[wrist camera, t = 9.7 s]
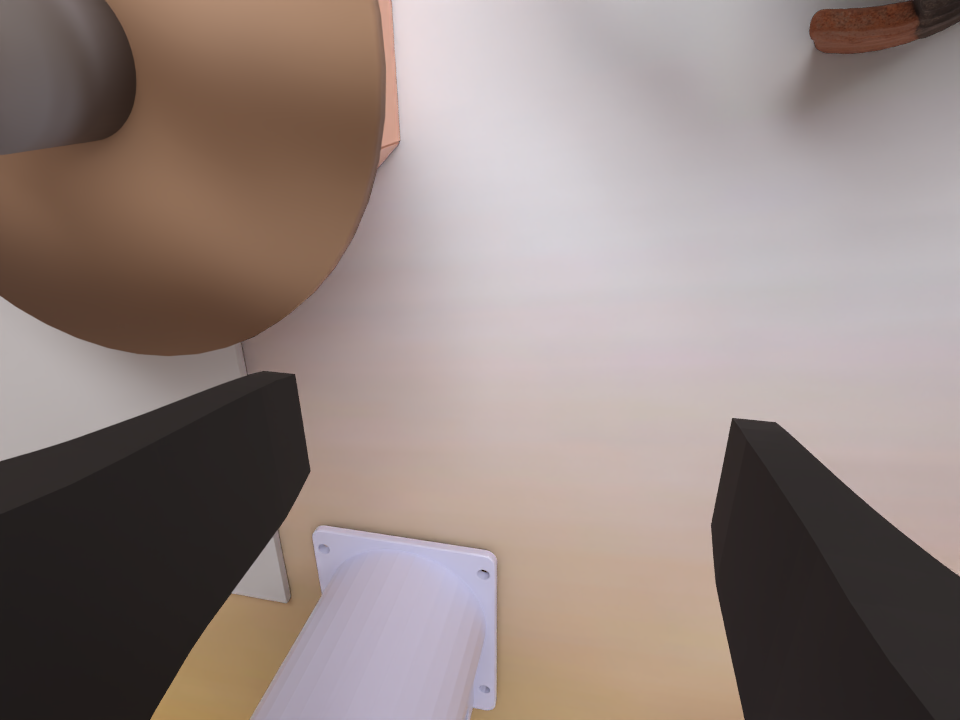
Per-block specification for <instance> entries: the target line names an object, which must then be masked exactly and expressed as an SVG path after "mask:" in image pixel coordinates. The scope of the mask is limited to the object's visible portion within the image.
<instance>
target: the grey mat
mask: <svg viewBox="0 0 960 720" xmlns="http://www.w3.org/2000/svg"><path fill="white" fill-rule="evenodd" d="M243 376H247V371H246V366H245V361H244V356H243V351H242V346H241V342H239V343H237V344H234V345H232V346H229V347H227V348H223V349H218V350H214V351H210V352H205V353H201V354H193V355H179V356H157V355H143V354H135V353H130V352H125V351H120V350H115V349H110V348H106V347H103V346H100V345H97V344H94V343H91V342H87V341H84V340H81V339H78V338H76V337H73V336H71V335H69V334H67V333H64V332H62V331H60V330H58V329H56V328H53V327H51V326H49V325H47V324H45V323H43V322H41V321H40V320H38V319H36V318H34V317H33V316H31V315H29V314H27V313H26V312H24V311H22V310H20V309H19V308H17V307H15V306H14V305H12V304H11V303H10V302H8V301H7V300H5V299H4V298H2V297H1V296H0V461H2V460H6V459H9V458H13V457H16V456H20V455H23V454H27V453H30V452H34V451H37V450H40V449H44V448H47V447H50V446H53V445H57V444H60V443H63V442H66V441H69V440H72V439H75V438H78V437H81V436H83V435H86V434H89V433H92V432H95V431H97V430H100V429H103V428H106V427H109V426H111V425H114V424H117V423H120V422H123V421H125V420H128V419H131V418H134V417H137V416H139V415H142V414H145V413H147V412H150V411H152V410H155V409H158V408H160V407H163V406H165V405H168V404H171V403H173V402H176V401H178V400H181V399H184V398H186V397H189V396H191V395H194V394H196V393H199V392H202V391H204V390H207V389H209V388H212V387H215V386H218V385H220V384H223V383H226V382H229V381H231V380H234V379H237V378H240V377H243ZM232 593H233V594H238V595H244V596H249V597H255V598H260V599H266V600H271V601H277V602H282V603H287V602H288V601H289V599H290V598H291V594H290V589H289V584H288V579H287V574H286V569H285V564H284V559H283V554H282V549H281V544H280V539H279V533H278V530H277V531H276V533H275V534H274V536H273V537H272V538H271V540H270V541H269V543H268V544H267V545H266V547H265V548H264V549H263V551H262V552H261V554H260V555H259V556H258V558H257V559H256V560H255V562H254V563H253V565H252V566H251V567H250V569H249V570H248V571H247V573H246V574H245V575H244V577H243V578H242V579H241V581H240V582H239V584H238V585H237V586H236V588H235V589H234V590H233V592H232Z"/></svg>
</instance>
